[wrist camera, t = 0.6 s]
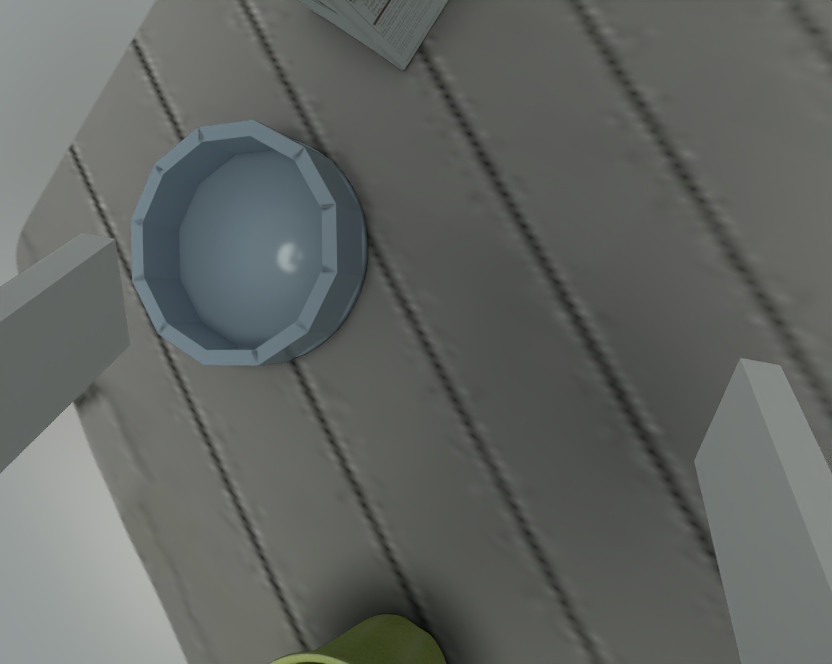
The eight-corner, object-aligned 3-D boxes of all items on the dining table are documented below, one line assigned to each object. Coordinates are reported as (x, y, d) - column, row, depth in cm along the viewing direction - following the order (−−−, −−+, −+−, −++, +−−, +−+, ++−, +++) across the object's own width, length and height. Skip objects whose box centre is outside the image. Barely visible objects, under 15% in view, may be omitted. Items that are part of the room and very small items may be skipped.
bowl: (227, 102, 40) (187, 82, 36) (408, 198, 36) (381, 186, 33) (143, 295, 42) (97, 294, 39) (304, 404, 38) (270, 413, 35)
